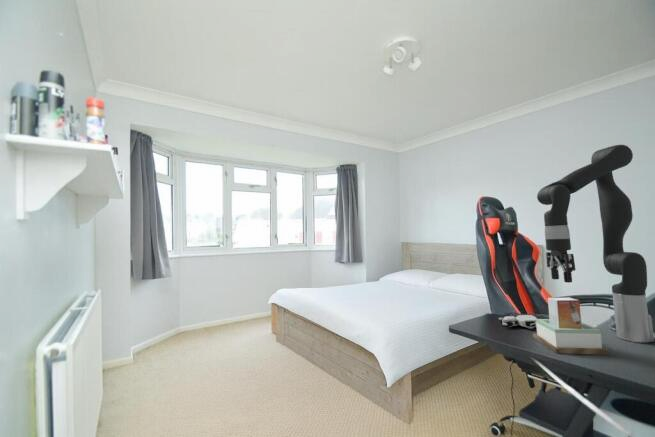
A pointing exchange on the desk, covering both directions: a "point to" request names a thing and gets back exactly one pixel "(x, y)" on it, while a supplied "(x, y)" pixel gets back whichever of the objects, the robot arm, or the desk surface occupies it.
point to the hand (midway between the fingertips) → (561, 280)
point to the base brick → (569, 335)
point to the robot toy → (519, 321)
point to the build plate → (571, 350)
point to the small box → (564, 313)
